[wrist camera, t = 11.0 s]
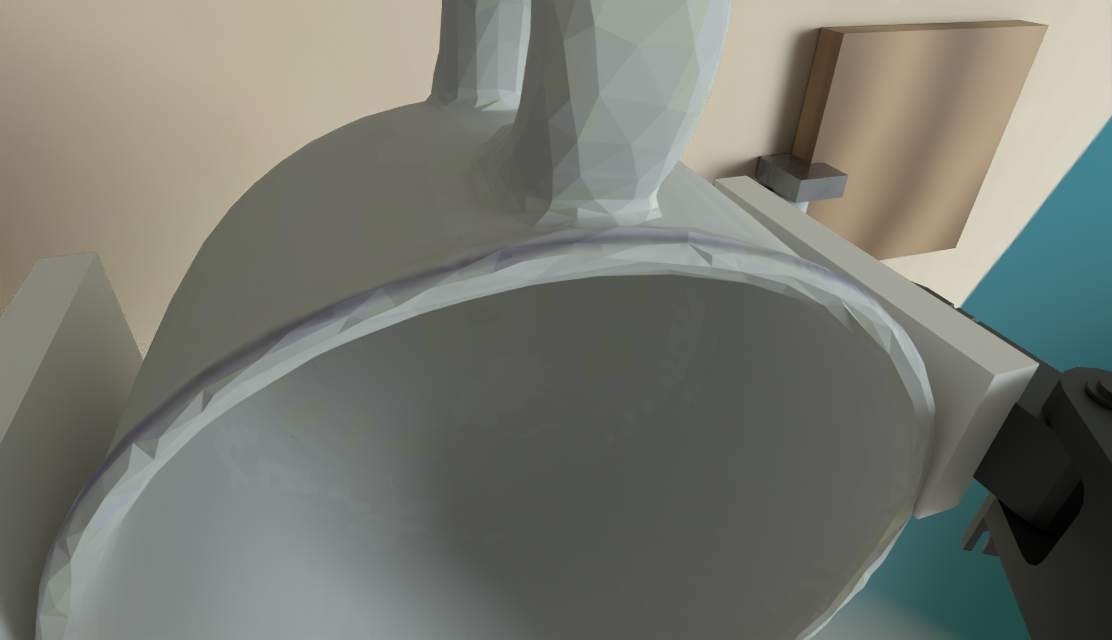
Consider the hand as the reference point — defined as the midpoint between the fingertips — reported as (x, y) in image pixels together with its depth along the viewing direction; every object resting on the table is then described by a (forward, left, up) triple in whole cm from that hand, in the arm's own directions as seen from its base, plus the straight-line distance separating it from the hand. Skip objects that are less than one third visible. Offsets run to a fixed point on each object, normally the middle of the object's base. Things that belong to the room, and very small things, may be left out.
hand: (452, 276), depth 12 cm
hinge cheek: (+17, -4, -13) cm, 22 cm away
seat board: (+23, -4, -13) cm, 27 cm away
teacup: (0, 0, -2) cm, 2 cm away
